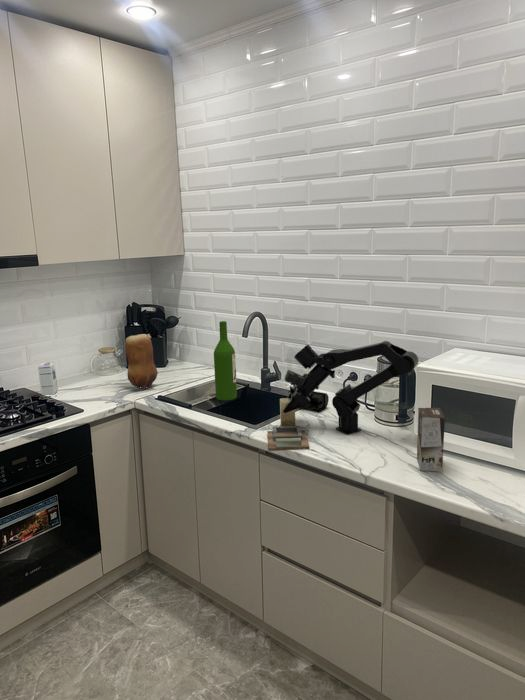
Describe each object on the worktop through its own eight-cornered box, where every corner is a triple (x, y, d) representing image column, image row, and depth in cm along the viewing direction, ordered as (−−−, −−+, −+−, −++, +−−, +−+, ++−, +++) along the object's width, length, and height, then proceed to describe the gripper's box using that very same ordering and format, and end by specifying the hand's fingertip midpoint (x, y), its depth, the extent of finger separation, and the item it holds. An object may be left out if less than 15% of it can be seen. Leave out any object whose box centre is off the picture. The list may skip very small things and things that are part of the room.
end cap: (328, 408, 208) (328, 391, 206) (320, 413, 202) (320, 396, 201) (306, 404, 213) (306, 388, 212) (297, 409, 208) (297, 392, 206)
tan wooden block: (280, 425, 191) (279, 398, 189) (294, 424, 191) (293, 398, 189) (281, 430, 186) (280, 402, 184) (295, 429, 186) (294, 402, 184)
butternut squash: (132, 384, 250) (127, 332, 245) (160, 383, 251) (156, 331, 246) (125, 392, 237) (120, 337, 232) (155, 391, 237) (151, 336, 232)
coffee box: (443, 472, 150) (445, 417, 146) (419, 471, 151) (421, 417, 148) (438, 458, 159) (440, 407, 155) (416, 457, 160) (417, 406, 156)
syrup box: (55, 396, 234) (51, 365, 231) (41, 397, 233) (37, 365, 230) (58, 393, 240) (54, 362, 237) (44, 394, 239) (40, 362, 236)
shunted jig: (267, 433, 183) (267, 425, 183) (305, 432, 183) (305, 424, 183) (268, 450, 169) (268, 442, 168) (309, 448, 169) (309, 440, 168)
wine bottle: (237, 400, 221) (233, 323, 214) (215, 401, 221) (211, 323, 214) (236, 393, 230) (233, 319, 223) (216, 394, 229) (212, 320, 223)
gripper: (295, 356, 192) (266, 387, 195) (300, 369, 174) (267, 402, 176) (317, 377, 194) (288, 406, 196) (324, 391, 176) (291, 424, 178)
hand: (283, 409), depth 187 cm, fingers closed on tan wooden block, 5 cm apart
